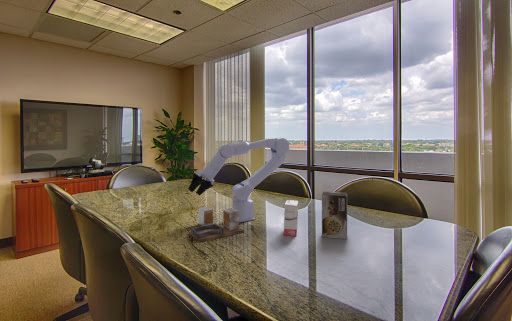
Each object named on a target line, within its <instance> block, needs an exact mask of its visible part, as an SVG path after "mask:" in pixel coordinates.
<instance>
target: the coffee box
mask: <svg viewBox="0 0 512 321" xmlns="http://www.w3.org/2000/svg"><path fill="white" fill-rule="evenodd" d="M321 237H322V238H329V239H330V238H331V239H341V240H347V239H348V192H344V191H322V194H321Z"/></svg>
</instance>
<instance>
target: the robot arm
mask: <svg viewBox="0 0 512 321" xmlns="http://www.w3.org/2000/svg"><path fill="white" fill-rule="evenodd" d="M261 148H267V149H270V152H271V158H270V159H269V160H268V161H267V162H266V163H264V164H263V165H262V166H260V168H259V169H257V170H256V171H255V172H253V174H251V175H250V176H249V177H248V178H247V179H245V180H243V181H241V182H240V183H236V184H235V185H233V186H232V188H231V195H232V196H233V198H232V203H231V204H232V206H231V208H233V209H235V210H238V211H239V223H243V222H250V221H254V220H256V218H255V206H254V201H253V200H252V199H250V198H249V196H250V195H251V193H253V191H254V188H256V187H257V186H258V185H260V183H262V182H263V181H264V180H265V179H267V177H269V176H270V175H271V174H272V173H273V172H274V171H275V170H277V169H278V168H279V167H281V165H282V164H283V163H284V162H285V159H286V156H287V154H288V153H289V151H290V143H289V141H288V139H287V138H284V137H282V138H281V137H280V138H279V137H276V138H264V139H261V140H256V141H252V142H247V141H246V140H243V139H240V140H239V141H236V142H229V144H228V143H227V144H222V145H221V146H219V147H218V151H217V152H216V153H215V154H214V156H213V157H212V158H211V160H209V162H207V164H206V166H205V167H204V168H203V170H200V169H198V170H197V171H196V172H193V174H192V179H191V181H190V185H189V186H188V191H189V192H191V193H193V192H194V191H195V190H196V189H197V188H198V189H197V190H196V192H195V194H196V195H198V196H202V194H203V193H205V192H206V191H207V190H209V189H211V188H213V187H214V185H213V184H214V182H216V181H215V177H216V175H217V174H218V172H220V170H221V169H222V168H223V166H224V165H226V162H227V161H228V160H229V159H230V158H232V157H233V156H236V157H237V156H240V155H245V154H248V153H249V152H250V150H255V149H261Z"/></svg>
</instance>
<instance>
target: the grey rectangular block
mask: <svg viewBox="0 0 512 321" xmlns="http://www.w3.org/2000/svg"><path fill="white" fill-rule="evenodd" d="M213 213H214V210H213V208H210V207H209V206H204V207H199V208H198V224H199V226H205V225H210V224H214V214H213Z"/></svg>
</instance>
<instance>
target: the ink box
mask: <svg viewBox="0 0 512 321" xmlns="http://www.w3.org/2000/svg"><path fill="white" fill-rule="evenodd" d="M283 216H284V217H283V218H284V219H283V236H290V237H291V236H292V237H293V236H294V237H296V236H297V232H298V225H299V224H298V221H299V220H298V219H299V217H298V216H299V200H293V199H292V200H291V199H287V200H286V201H285V203H284V215H283Z"/></svg>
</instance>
